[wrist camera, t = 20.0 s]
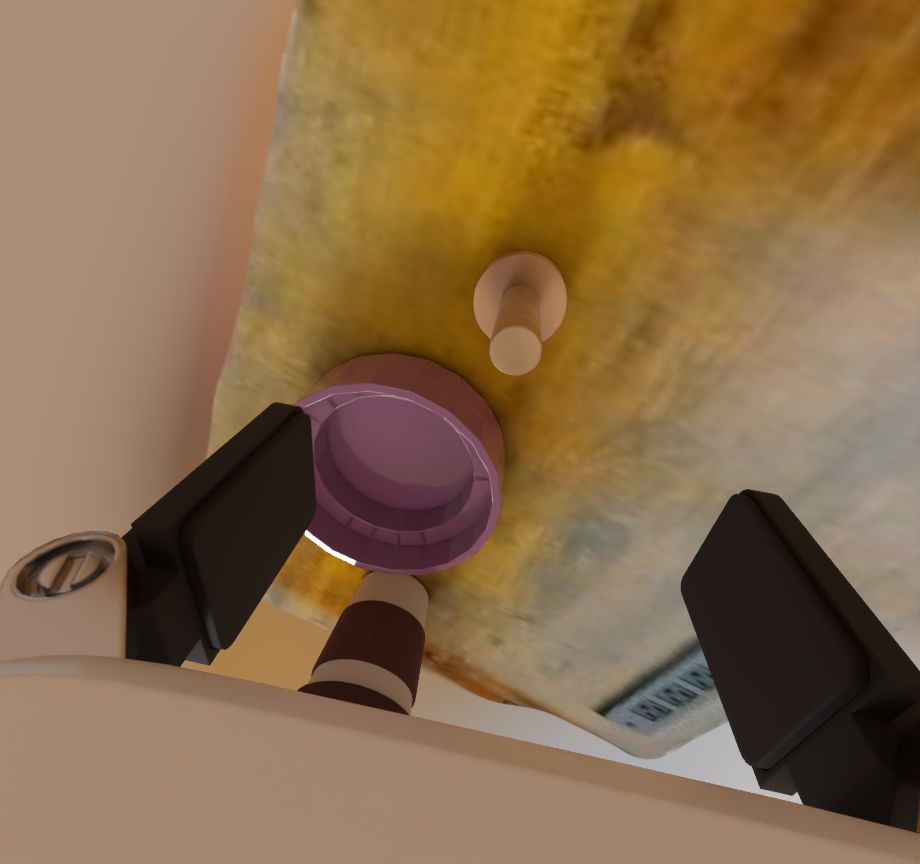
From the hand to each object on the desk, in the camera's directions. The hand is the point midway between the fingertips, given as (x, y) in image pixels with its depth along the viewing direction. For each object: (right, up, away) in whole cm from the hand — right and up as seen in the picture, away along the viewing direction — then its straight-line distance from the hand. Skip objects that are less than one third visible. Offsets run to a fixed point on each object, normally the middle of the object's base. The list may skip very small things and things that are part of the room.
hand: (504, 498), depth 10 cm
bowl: (-6, 0, +24) cm, 25 cm away
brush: (+3, +10, +17) cm, 20 cm away
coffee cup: (-8, -15, +34) cm, 38 cm away
